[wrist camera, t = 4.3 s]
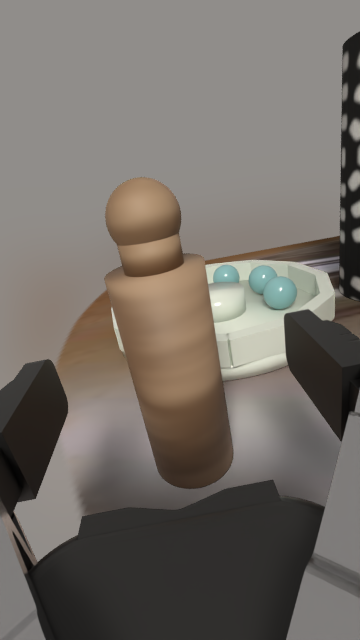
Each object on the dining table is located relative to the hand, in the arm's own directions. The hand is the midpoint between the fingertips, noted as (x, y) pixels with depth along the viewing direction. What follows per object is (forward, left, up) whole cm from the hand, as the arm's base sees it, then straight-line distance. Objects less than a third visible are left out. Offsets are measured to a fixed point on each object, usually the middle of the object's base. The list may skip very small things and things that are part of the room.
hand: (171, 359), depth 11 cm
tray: (+11, -15, -7) cm, 20 cm away
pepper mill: (+2, -2, -7) cm, 8 cm away
